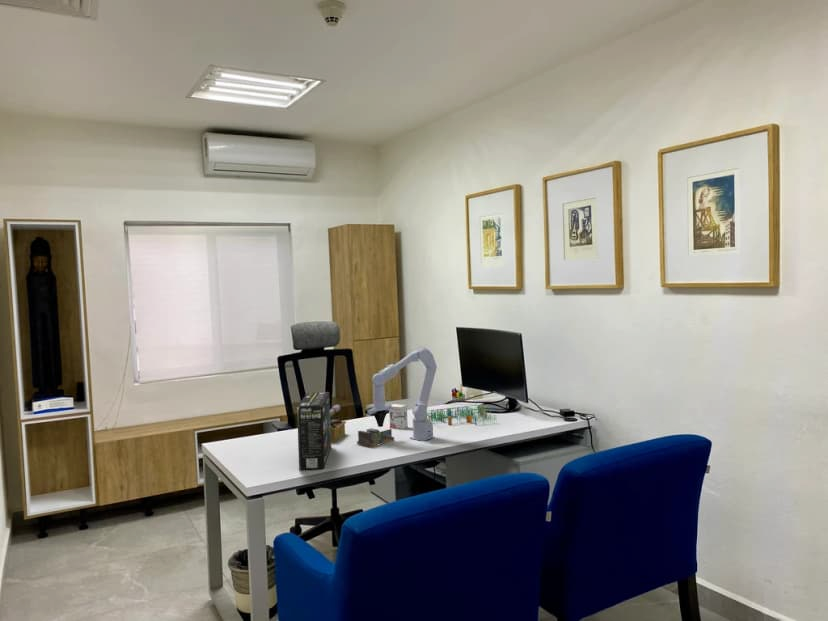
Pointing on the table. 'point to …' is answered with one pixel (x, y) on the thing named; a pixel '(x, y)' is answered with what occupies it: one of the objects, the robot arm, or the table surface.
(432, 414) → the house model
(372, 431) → the gauge slider
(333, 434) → the geiger counter
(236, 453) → the table surface
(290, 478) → the table surface
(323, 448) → the router box
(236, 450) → the table surface
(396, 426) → the ink box
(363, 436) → the stone ruin model
